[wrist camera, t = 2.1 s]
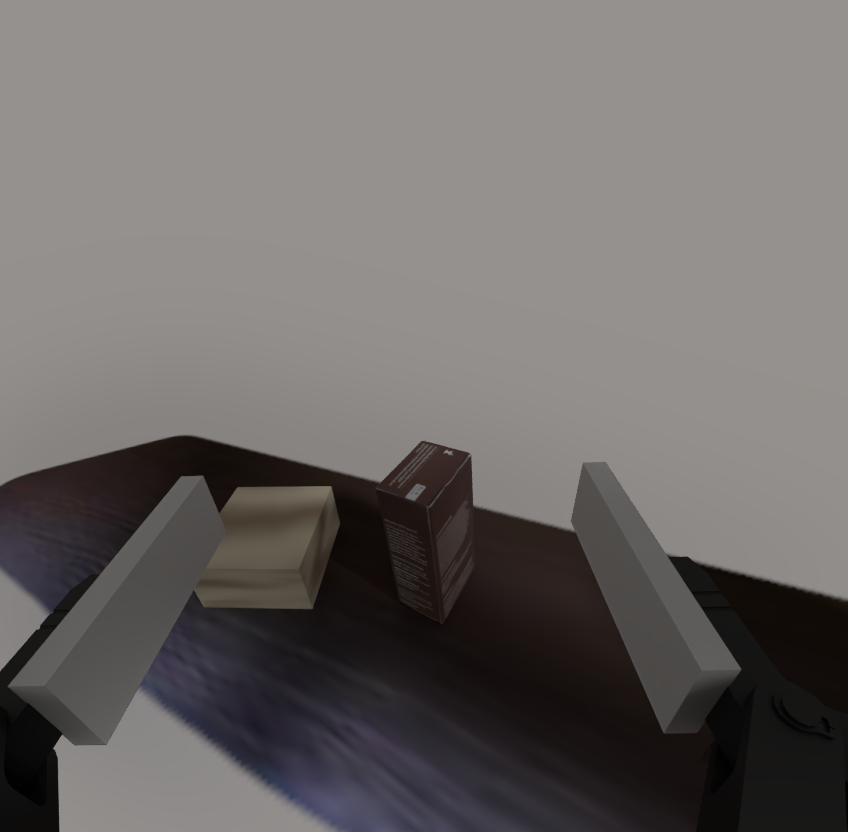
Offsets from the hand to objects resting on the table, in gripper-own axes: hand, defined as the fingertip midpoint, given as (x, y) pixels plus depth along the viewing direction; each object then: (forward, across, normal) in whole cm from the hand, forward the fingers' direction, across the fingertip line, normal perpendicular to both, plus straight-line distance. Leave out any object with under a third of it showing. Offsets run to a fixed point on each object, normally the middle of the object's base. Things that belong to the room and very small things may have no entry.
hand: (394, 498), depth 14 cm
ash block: (+13, -13, -19) cm, 26 cm away
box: (+10, +1, -19) cm, 21 cm away
